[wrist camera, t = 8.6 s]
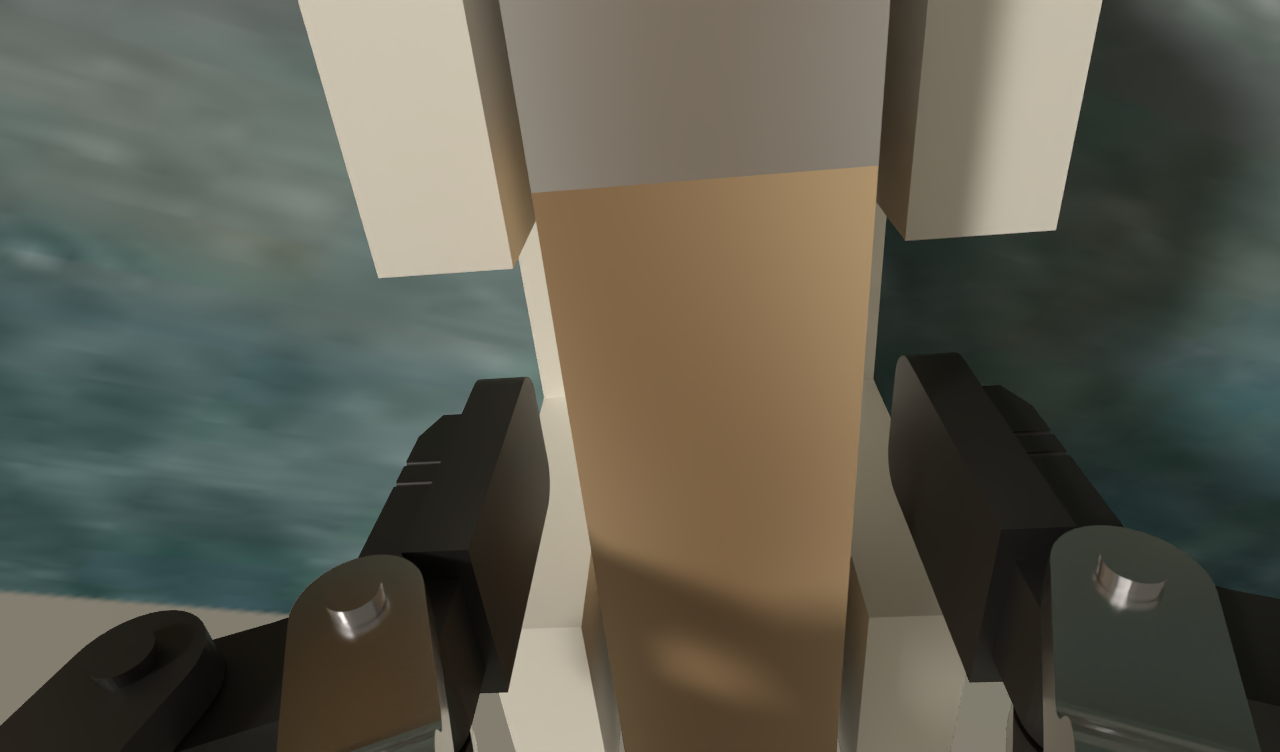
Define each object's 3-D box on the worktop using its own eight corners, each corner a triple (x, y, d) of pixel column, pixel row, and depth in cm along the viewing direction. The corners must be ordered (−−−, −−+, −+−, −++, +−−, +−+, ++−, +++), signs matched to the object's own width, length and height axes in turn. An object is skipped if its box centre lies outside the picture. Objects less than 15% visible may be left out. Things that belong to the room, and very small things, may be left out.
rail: (811, -204, 8) (910, -300, 5) (793, 679, 16) (827, 885, 12) (545, -172, 8) (458, -241, 5) (652, 682, 16) (647, 886, 13)
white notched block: (901, -223, 12) (1185, -411, 6) (850, 511, 21) (940, 803, 14) (456, -170, 13) (215, -282, 6) (578, 523, 21) (532, 808, 14)
